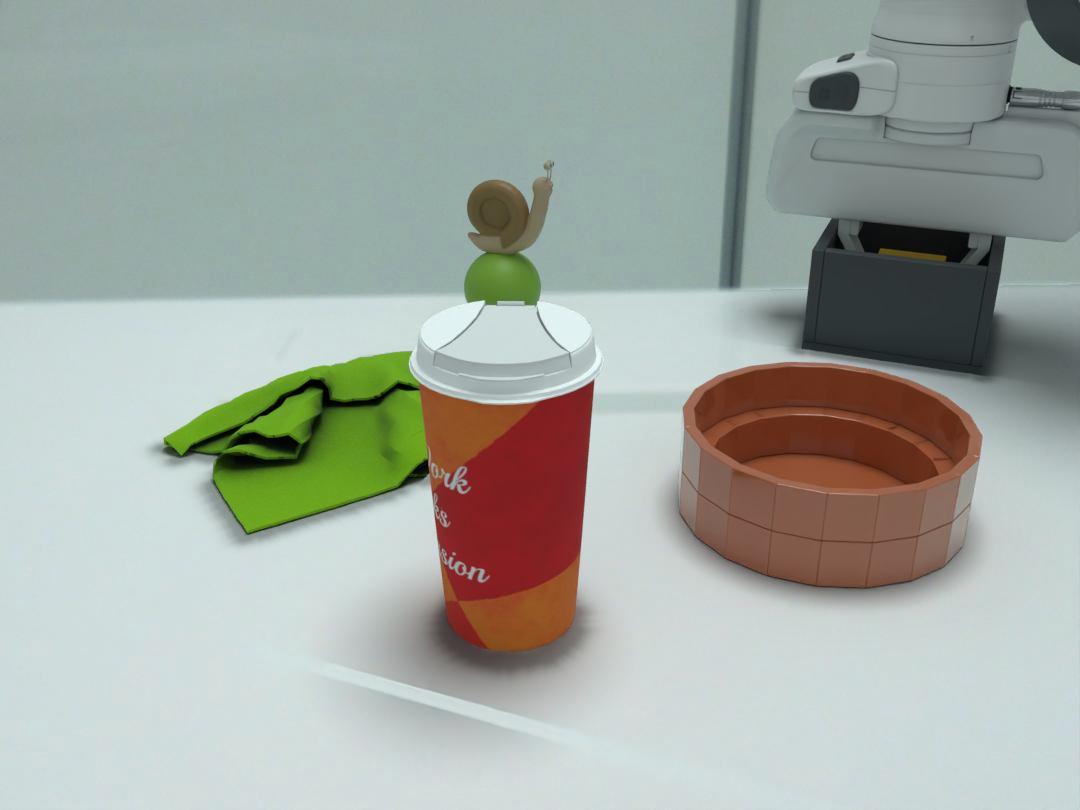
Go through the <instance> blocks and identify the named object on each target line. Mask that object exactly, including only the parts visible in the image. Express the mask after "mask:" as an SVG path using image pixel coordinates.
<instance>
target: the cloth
mask: <svg viewBox="0 0 1080 810" xmlns="http://www.w3.org/2000/svg"><path fill="white" fill-rule="evenodd" d="M413 351H414V350H402V351H401V350H400V351H392V352H386V353H380V354H374V355H372V356H359V357H356V358H354V359H350V360H348V361H346V362H340V363H339V362H338V363H334V364H331V365H326V364H325V365H318V366H313V367H309V368H306V369H304V370H299V371H295V372H292V373H289V374H286V375H283V376H280V377H277V378H275V379H274V380H272V381H270V382H269V383H267V384H265V385H263V386H260V387H258V388H254V389H251V390H249V391H246V392H243V393H242V394H240V395H238V396H236V397H234V398H233V399H231V400H230V401H228V402H224V403H222V404H218V405H216V406H214V407H213V408H210V409H207V410H205V411H203V412H202V413H201V414H200V415H198V416H196V417H195V418H193V419H192V420H190V421H189V422H188V423H187V424H185V425H183V426H181V427H180V428H178V429H176V430H175V431H173V432H171V433H169V434H168V435H166V436H164V437H163V445H164V446H165V447H170V448H174V450H175V451H176V452H177V453H178V454H179V455H180V456H183V455H184V453H186V452H187V451H190V452H196V453H205V454H212V455H213V454H219V453H220V454H219V455H218V456H217V457H216V459H215V460H214V461H213V466H212V478H213V481H214V482H215V485H216V486H215V487H217V489H218V491H219V492H220V495H222V497H223V499H224V501H225V502H226V503H227V505H228V506H229V508H230V509H231V511H232V513H233V515H234V516H235V517H236V519H237V520H238V522H239V523H240V524H241V525H242V527H243V529H244V530H245V532H246V534H249V533H250V534H251V533H253V532H257V531H260V530H263V529H266V528H271V527H274V526H277V525H281V524H284V523H287V522H290V521H295V520H298V519H300V518H304V517H307V516H310V515H315V514H317V513H321V512H324V511H327V510H331V509H334V508H337V507H341V506H345V505H347V504H350V503H354V502H357V501H361V500H364V499H367V498H370V497H373V496H376V495H380V494H382V493H385V492H388V491H391V490H393V489H397V488H399V487H400V485H401V484H403V482H404V481H405V480H406V479H407V478H408V477H409V478H414V477H416V478H419V477H420V478H423V477H427V476H429V475H430V473H429V465H428V456H427V448H426V439H425V430H424V422H423V413H422V405H421V396H420V388H419V381H417V380H416V379H415V378H414V376H413V375H412V373H411V372H410V368H409V360H410V356H411V354H412V352H413ZM251 433H256V434H259V435H257V436H255V437H252V439H250V440H248V441H247V442H246V443H244V444H238V443H239V442H240V441H242V440H243V439H245V438H246V437H247V436H248V435H250V434H251ZM236 444H237V445H236ZM234 445H235V446H234Z"/></svg>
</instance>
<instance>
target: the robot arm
mask: <svg viewBox="0 0 1080 810" xmlns="http://www.w3.org/2000/svg"><path fill="white" fill-rule="evenodd" d="M1030 21H1031V22H1032V25H1033V27H1034V28H1035V30H1036V32H1037V34H1039V36H1040V37H1041V39H1042V40H1043V42H1044V43H1045V44H1046V45H1047V46H1048V47H1049V48H1050V49H1051V50H1052V51H1054V52H1055V53H1056V54H1058V55H1059V56H1060V57H1062V58H1063V59H1065V60H1066V61H1068V62H1070V63H1072V64H1075V65H1077V66H1079V67H1080V0H880V1H879V5H878V8H877V11H876V13H875V15H874V18H873V21H872V23H871V29H870V36H869V45H868V48H866V49H862V50H858V51H853V52H850V53H845V54H842V55H837V56H833V57H830V58H826V59H822V60H818V61H816V62H814V63H813V64H811V65H809V66H806V68H804V69H803V70H802V71H801V72H800V73H799V74H798V75H797V76H796V78H795V80H794V83H793V87H792V92H791V95H792V96H791V97H792V104H793V106H794V107H795V108H794V109H793V110H792V111H791V112H790V113H789V114H788V115H787V116H786V117H785V118H784V120H783V121H782V122H781V124H780V126H779V128H778V130H777V132H776V136H775V139H774V143H773V146H772V150H771V155H770V158H769V159H770V160H769V165H768V169H767V170H768V171H767V178H766V185H765V199H766V200H767V202H768V204H769V205H770V207H771V209H772V210H773V211H774V212H776V213H778V214H779V213H780V214H790V215H797V216H798V215H799V216H806V217H807V216H809V217H816V218H826V219H831V218H835V219H839V225H838V236H839V238H840V240H841V242H842V244H843V246H844V248H845V250H851V251H860V252H864V249H863V247H862V245H861V243H860V240H859V238H858V236H857V235H858V233H859V231H860V230H861V228H862V226H863V222H872V223H882V224H891V225H901V226H910V227H920V228H929V229H938V230H948V231H957V232H967V233H970V236H969V243H968V247H969V248H972V249H971V250H970V251H969V253H968V254H967V255H966V256H965V257H964V259H963V260H962V261H961V262H960V263H962V264H971V265H977V264H978V263H979V262H980V261H981V260H982V259H983V258H984V256H985V255H986V254H987V253H988V252H989V251H990V245H991V240H992V235H995V236H1005V237H1006V238H1015V239H1024V240H1034V241H1042V242H1043V241H1044V242H1052V243H1066V242H1068V241H1070V240H1071V239H1072V238H1073V237H1075V236H1076V235H1077V234H1078V233H1080V91H1078V90H1064V91H1058V90H1057V91H1055V90H1047V89H1042V88H1037V87H1036V88H1035V87H1023V86H1012V85H1011V81H1012V77H1013V70H1014V66H1015V59H1016V52H1017V48H1018V43H1019V42H1018V41H1019V35H1020V30H1021V27H1022V25H1023V24H1024V23H1025V22H1030Z"/></svg>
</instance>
